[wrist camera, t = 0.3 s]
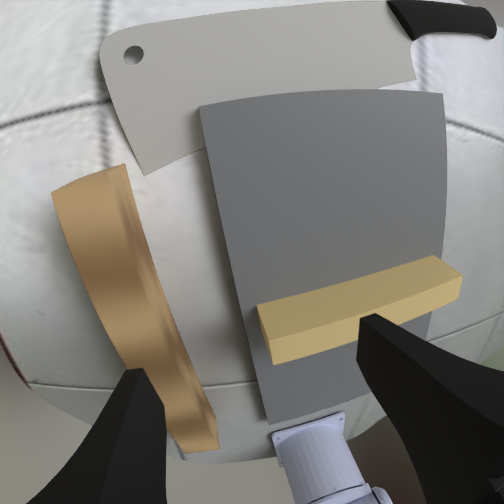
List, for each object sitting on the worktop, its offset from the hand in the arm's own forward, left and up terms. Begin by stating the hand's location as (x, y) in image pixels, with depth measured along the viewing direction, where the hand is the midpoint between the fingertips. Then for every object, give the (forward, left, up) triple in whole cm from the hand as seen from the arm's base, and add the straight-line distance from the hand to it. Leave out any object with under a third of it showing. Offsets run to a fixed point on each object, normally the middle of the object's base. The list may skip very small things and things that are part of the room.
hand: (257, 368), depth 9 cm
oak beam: (-5, +6, -10) cm, 13 cm away
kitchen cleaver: (+11, -11, -10) cm, 19 cm away
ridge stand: (-5, -8, -10) cm, 13 cm away
